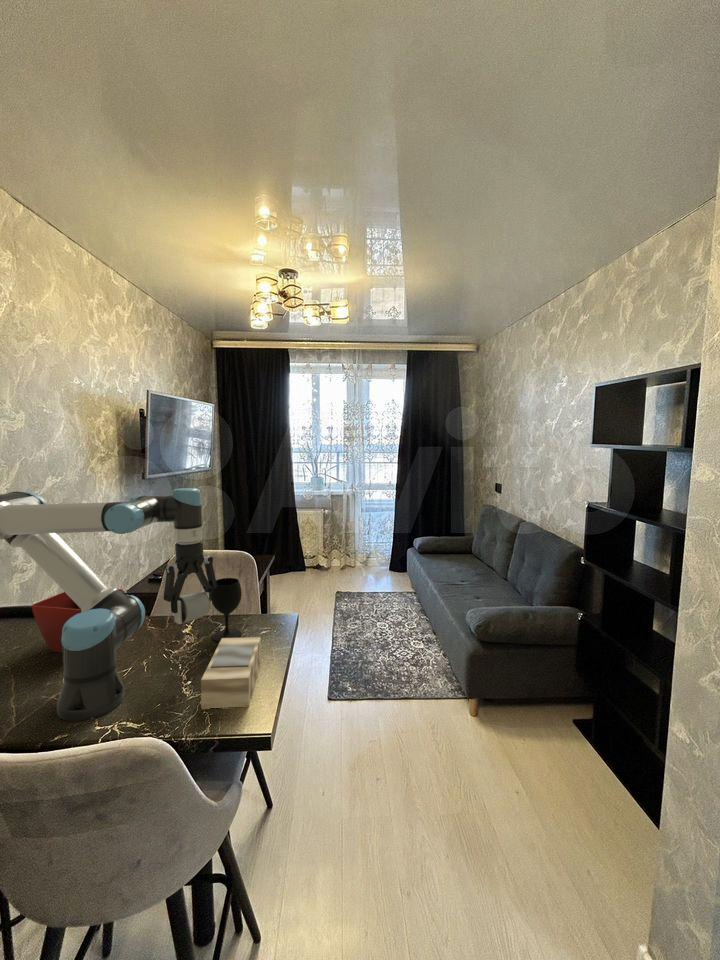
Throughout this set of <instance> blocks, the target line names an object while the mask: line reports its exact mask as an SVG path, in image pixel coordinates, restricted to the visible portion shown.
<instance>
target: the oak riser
mask: <svg viewBox="0 0 720 960" xmlns="http://www.w3.org/2000/svg"><path fill="white" fill-rule="evenodd" d="M261 639H262V636H253V637H250V636H249V637H248V636H247V637H240V638H222V639H221V641H220V642H218V645H217V647H216V649H215V651H214V653H213V655H212V657H211V660H210V661H209V664H208V665H207V667H206V669H205V671H204V673H203V675H202V676H201V678H200V691H201V693H200V695H201V702H200V704H201V710H211V709H210V708H221V707H222V709H224V708H223V707H244V708H250V705H249V704H250V703H251V701H250V700H251V699H252V697H253V693H254V690H255V687H256V686H255V685H256V681H257V678H258V675H259V671H258V670H260V667H261V662H262V640H261Z"/></svg>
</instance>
